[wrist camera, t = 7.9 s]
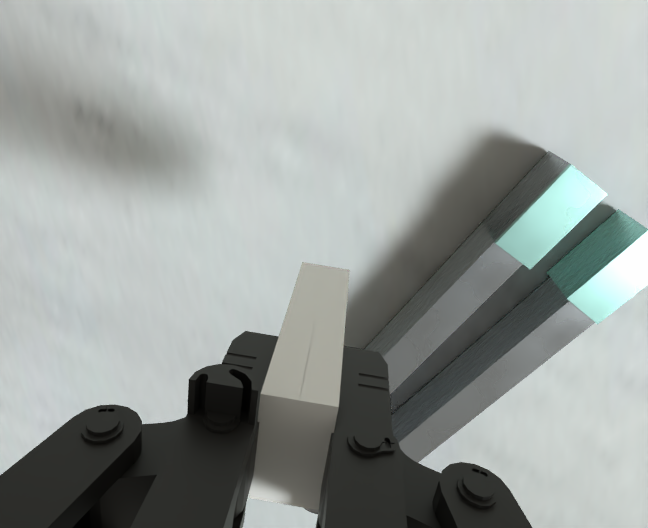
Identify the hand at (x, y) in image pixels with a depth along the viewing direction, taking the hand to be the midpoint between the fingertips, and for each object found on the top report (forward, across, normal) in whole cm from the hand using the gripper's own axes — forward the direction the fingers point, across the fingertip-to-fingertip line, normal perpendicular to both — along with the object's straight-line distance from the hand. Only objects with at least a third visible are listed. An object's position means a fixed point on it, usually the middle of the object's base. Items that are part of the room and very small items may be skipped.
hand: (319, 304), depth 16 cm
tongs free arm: (+8, +5, -3) cm, 10 cm away
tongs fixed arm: (+8, +7, -6) cm, 12 cm away
